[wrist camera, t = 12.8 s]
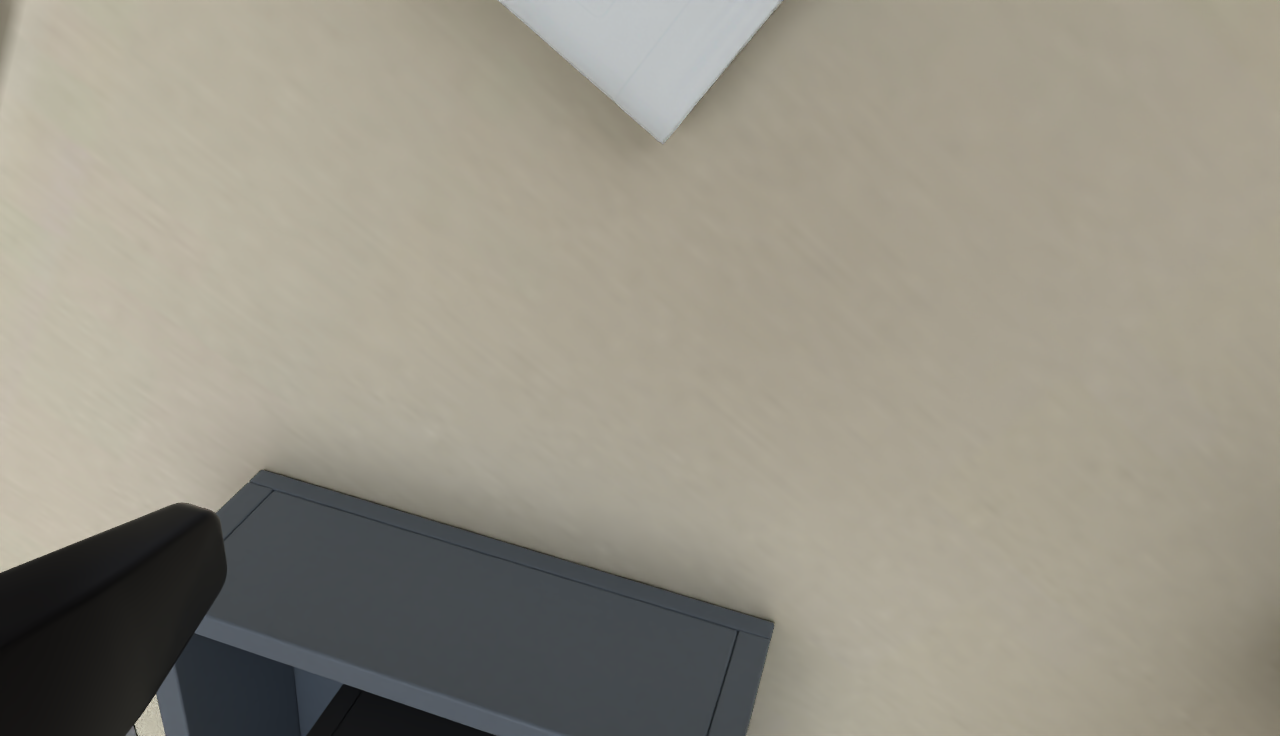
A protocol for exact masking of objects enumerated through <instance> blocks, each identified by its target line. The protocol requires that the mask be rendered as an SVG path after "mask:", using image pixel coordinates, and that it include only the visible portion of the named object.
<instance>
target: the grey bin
mask: <svg viewBox="0 0 1280 736" xmlns="http://www.w3.org/2000/svg"><path fill="white" fill-rule="evenodd" d="M216 514H217V516H218V517H219V519H220V522H221V527H222V534H223V540H224V547H225V554H226V560H227V576H226V580H225V583H224V585H223V587H222V589H221V591H220V593H219V595H218V596H217V598H216V599H215V601H214V603H213V604H212V606H211V607H210V609H209V610H208V612H207V614H206V615H205V617H204V618H203V620H202V622H201V623H200V625H199V626H198V628H197V629H196V631H195V633H194V634H193V636H192V637H191V639H190V640H189V642H188V644H187V645H186V647H185V648H184V650H183V652H182V653H181V655H180V656H179V658H178V659H177V661H176V663H175V664H174V666H173V667H172V669H171V671H170V672H169V674H168V675H167V677H166V678H165V680H164V682H163V683H162V685H161V686H160V688H159V689H158V691H157V693H156V695H157V700H158V704H159V709H160V713H161V718H162V722H163V726H164V731H165V735H166V736H306V735H307V734H308V732H309V731H310V729H311V728H312V727H313V725H314V724H315V722H316V721H317V720H318V718H319V717H320V715H321V714H322V713H323V711H324V710H325V708H326V707H327V706H328V704H329V703H330V701H331V700H332V699H333V697H334V696H335V694H336V693H337V692H338V690H339V689H340V687H341V686H342V685H343V684H346V685H349V686H352V687H355V688H358V689H361V690H364V691H366V692H369V693H372V694H375V695H378V696H381V697H384V698H387V699H390V700H393V701H396V702H399V703H402V704H405V705H408V706H411V707H414V708H417V709H420V710H422V711H425V712H428V713H431V714H434V715H437V716H440V717H443V718H446V719H449V720H452V721H455V722H458V723H461V724H464V725H467V726H470V727H473V728H476V729H478V730H481V731H484V732H487V733H490V734H493V735H496V736H746V735H747V731H748V727H749V723H750V719H751V715H752V711H753V707H754V703H755V699H756V696H757V692H758V688H759V684H760V680H761V676H762V672H763V668H764V664H765V660H766V656H767V652H768V648H769V645H770V641H771V637H772V633H773V629H774V623H773V622H769V621H766V620H763V619H759V618H756V617H753V616H749V615H746V614H743V613H739V612H736V611H733V610H729V609H726V608H723V607H719V606H716V605H713V604H709V603H706V602H703V601H699V600H696V599H693V598H689V597H686V596H683V595H679V594H676V593H673V592H669V591H666V590H663V589H659V588H656V587H653V586H649V585H646V584H643V583H639V582H636V581H633V580H629V579H626V578H622V577H619V576H616V575H612V574H609V573H606V572H602V571H599V570H596V569H592V568H589V567H586V566H582V565H579V564H576V563H572V562H569V561H566V560H562V559H559V558H556V557H552V556H549V555H546V554H542V553H539V552H536V551H532V550H529V549H526V548H522V547H519V546H516V545H512V544H509V543H506V542H502V541H499V540H496V539H492V538H489V537H486V536H482V535H479V534H476V533H472V532H469V531H466V530H462V529H459V528H455V527H452V526H449V525H445V524H442V523H439V522H435V521H432V520H429V519H425V518H422V517H419V516H415V515H412V514H409V513H405V512H402V511H399V510H395V509H392V508H389V507H385V506H382V505H379V504H375V503H372V502H369V501H365V500H362V499H359V498H355V497H352V496H349V495H345V494H342V493H339V492H335V491H332V490H329V489H325V488H322V487H319V486H315V485H312V484H309V483H305V482H302V481H299V480H295V479H292V478H288V477H285V476H282V475H278V474H275V473H272V472H268V471H265V470H260V471H259V472H258V473H257V474H256V475H255V476H254V477H253V478H252V479H251V480H250V482H249V483H247V484H246V485H245V486H244V487H243V488H242V489H241V490H239V491H238V492H237V493H236V494H235V495H234V496H233V497H232V498H231V499H230V500H229V501H228V502H227V503H226V504H225V505H224V506H223V507H222V508H221V509H220V510H219V511H218V512H216Z"/></svg>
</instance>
